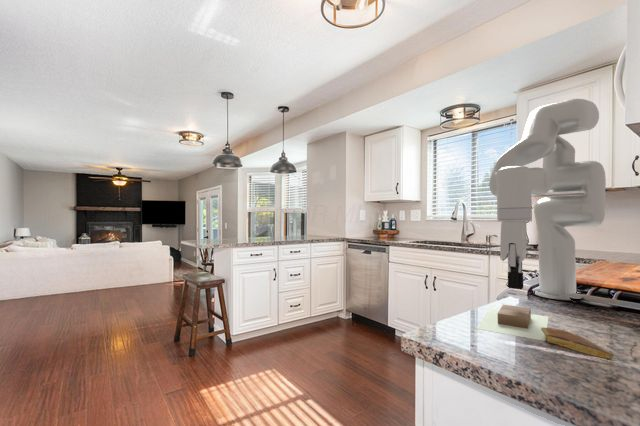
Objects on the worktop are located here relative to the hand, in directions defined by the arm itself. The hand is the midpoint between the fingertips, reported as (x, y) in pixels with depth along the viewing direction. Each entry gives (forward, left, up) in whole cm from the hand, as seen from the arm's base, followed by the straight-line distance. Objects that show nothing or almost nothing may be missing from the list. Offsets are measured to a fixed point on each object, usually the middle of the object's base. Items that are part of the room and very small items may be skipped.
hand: (515, 288), depth 82 cm
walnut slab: (0, 0, -6) cm, 6 cm away
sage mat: (+5, 0, -8) cm, 9 cm away
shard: (+13, +12, -8) cm, 19 cm away
